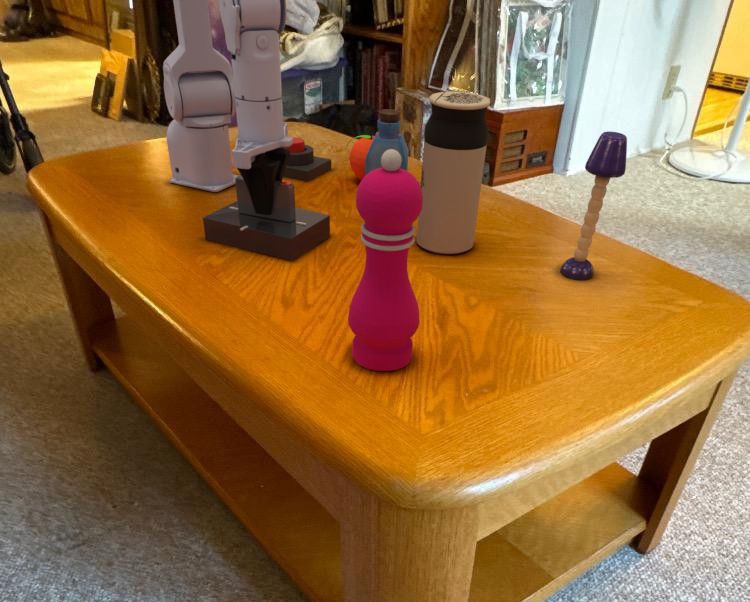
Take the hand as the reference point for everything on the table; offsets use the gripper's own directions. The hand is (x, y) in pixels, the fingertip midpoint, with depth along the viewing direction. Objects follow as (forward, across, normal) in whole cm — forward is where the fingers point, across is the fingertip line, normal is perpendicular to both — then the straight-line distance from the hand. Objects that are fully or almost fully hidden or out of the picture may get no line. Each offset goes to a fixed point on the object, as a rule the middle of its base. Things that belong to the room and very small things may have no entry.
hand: (266, 210), depth 92 cm
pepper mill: (+4, -27, -23) cm, 35 cm away
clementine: (+4, +29, -7) cm, 30 cm away
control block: (+4, +30, +6) cm, 31 cm away
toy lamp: (+4, +2, -42) cm, 43 cm away
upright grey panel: (+1, 0, 0) cm, 1 cm away
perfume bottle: (+4, +23, -12) cm, 26 cm away
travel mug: (+4, +6, -24) cm, 25 cm away
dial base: (+4, 0, 0) cm, 4 cm away
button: (+1, +30, +6) cm, 31 cm away
